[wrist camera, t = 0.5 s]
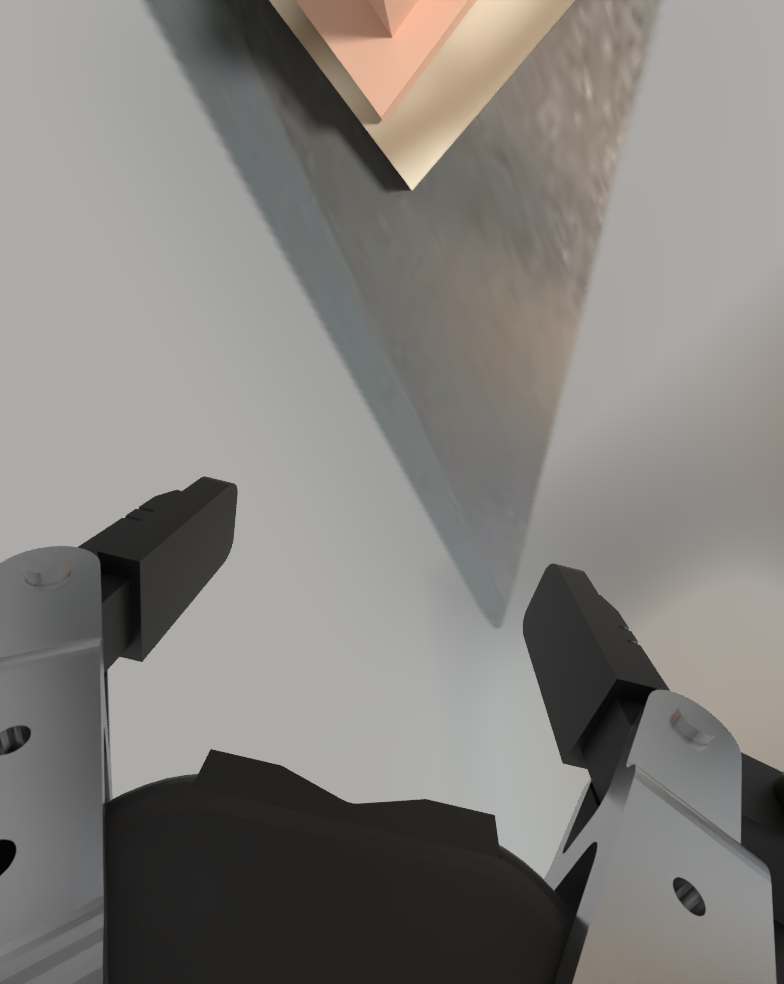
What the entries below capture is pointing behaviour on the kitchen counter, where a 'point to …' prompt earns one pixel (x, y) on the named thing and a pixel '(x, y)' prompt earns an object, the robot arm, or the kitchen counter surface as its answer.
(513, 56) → the pad
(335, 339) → the kitchen counter surface
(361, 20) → the stub
